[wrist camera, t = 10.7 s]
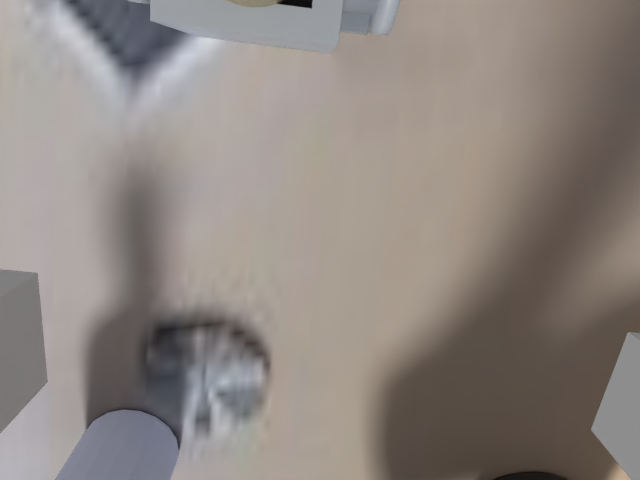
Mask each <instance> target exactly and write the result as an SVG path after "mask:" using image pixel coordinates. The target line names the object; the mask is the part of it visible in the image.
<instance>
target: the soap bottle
mask: <svg viewBox="0 0 640 480" xmlns="http://www.w3.org/2000/svg"><path fill="white" fill-rule="evenodd" d="M178 455H179V450H178V445H177V439H176V437H175V435H174V434H173V432H172V431H171V429H170V428H169V426H167V425H166V424H165V423H163V422H162V421H161V420H159V419H158V418H157V417H155V416H152V415H150V414H147V413H145V412H142V411H135V410H125V409H123V410H118V411H113V412H108V413H106V414H105V415H103V416H101V417H99V418H97V419H96V420H94V421H93V422H92V424H91V425H90V426H89V427H88V429H87V430H86V431H85V433H84V435H83V436H82V438H81V439H80V441H79V442H78V444H77V446H76V447H75V449H74V450H73V452H72V453H71V455H70V457H69V458H68V460H67V461H66V463H65V464H64V466H63V468H62V469H61V471H60V472H59V474H58V475H57V477H56V479H55V480H170V479H171V476H172V474H173V471H174V468H175V465H176V462H177V458H178Z"/></svg>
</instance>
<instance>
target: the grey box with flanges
mask: <svg viewBox="0 0 640 480" xmlns="http://www.w3.org/2000/svg"><path fill="white" fill-rule="evenodd" d="M127 1H130V2H137V3H144V4H150V15H151V21H153V22H156V23H159V24H162V25H165V26H168V27H171V28H174V29H177V30H180V31H183V32H186V33H189V34H192V35H195V36H199V37H207V38H215V39H223V40H230V41H238V42H246V43H253V44H261V45H269V46H277V47H284V48H292V49H300V50H307V51H315V52H323V53H331V52H332V51H333V50H334V49H335V48H336V47H337V46H338V39H339V31H342V32H349V33H357V34H364V35H366V34H367V33H368V27H369V30H370V33H371V34H378V35H385V36H387V35H388V34H389V33H390V31H391V29H392V26H393V23H394V20H395V17H396V14H397V10H398V7H399V3H400V0H284V1H282V2H280V3H277V4H275V5H271V6H266V7H245V6H240V5H236V4H234V3H231V2H228V1H226V0H127Z"/></svg>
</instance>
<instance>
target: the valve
mask: <svg viewBox="0 0 640 480" xmlns="http://www.w3.org/2000/svg"><path fill="white" fill-rule="evenodd" d="M226 1H228V2H231V3H234V4H236V5H240V6H245V7H266V6H271V5H275V4H277V3H280V2H282V1H284V0H226Z"/></svg>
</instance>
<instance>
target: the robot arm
mask: <svg viewBox="0 0 640 480" xmlns="http://www.w3.org/2000/svg"><path fill="white" fill-rule="evenodd" d="M47 382H48V380H47V370H46V359H45V348H44V337H43V326H42V315H41V305H40V294H39V283H38V273H32V272H22V271H12V270H2V269H0V433H1V432H2V431H3V430H4V429H5V428H6V427H7V426H8V424H9V423H10V422H11V421H12V420H13V419H14V418H15V417H16V416H17V415H18V414H19V412H20V411H21V410H22V409H23V408H24V407H25V406H26V405H27V404H28V403H29V401H30V400H31V399H32V398H33V397H34V396H35V395H36V394H37V393H38V392H39V391H40V389H41V388H42V387H43V386H44V385H45V384H46V383H47ZM591 431H592V432H593V433H594V434H595V436H596V437H597V438H598V439H599V440H600V442H601V443H602V444H603V445H604V447H605V448H606V449H607V450H608V452H609V453H610V454H611V455H612V456H613V458H614V459H615V460H616V461H617V463H618V464H619V465H620V466H621V468H622V469H623V470H624V471H625V472H626V474H627V475H628V476H629V477H630V479H631V480H640V333H634V332H628V333H627V336H626V338H625V341H624V344H623V346H622V349H621V352H620V354H619V357H618V359H617V362H616V365H615V367H614V370H613V373H612V375H611V378H610V381H609V383H608V386H607V388H606V391H605V394H604V396H603V399H602V402H601V404H600V407H599V409H598V412H597V415H596V417H595V420H594V423H593V425H592V428H591ZM496 480H566V479H564V478H561V477H559V476H555V475H551V474H546V473H520V474H514V475H510V476H506V477H502V478H499V479H496Z"/></svg>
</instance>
